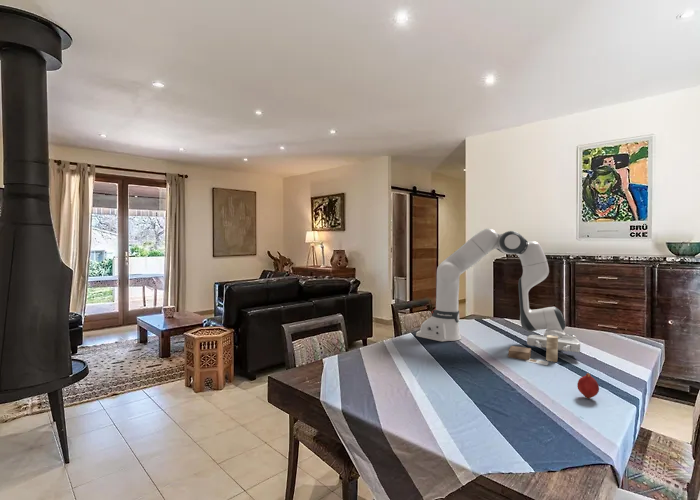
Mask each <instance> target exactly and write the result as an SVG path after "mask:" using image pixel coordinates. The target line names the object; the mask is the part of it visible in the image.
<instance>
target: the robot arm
mask: <svg viewBox="0 0 700 500" xmlns="http://www.w3.org/2000/svg"><path fill="white" fill-rule="evenodd" d="M493 250H497V251H499V252H501V253H503V254H506V255H516V256H518V258H519V260H520V262H521V263H520V264H521V266H522V275H521V277H520V278H519V279H518V297H519V299H518V300H519V301H518V302H519V314H520V315H519V323H520V326H521V328H522V329H523V330H525V331H527V332H529V333H530V332H536V331H540V330H545V331H544V333H543V335H540V334H530V335H528V336H526V343H527V344H526V345H528V346H531V347H537V348H539V349H540V348H541V349H542V348H546V345H547V335H552V336H558V351H563V352H573V353H580V352H581V342H580V340H579V339H577V336H576V335H573V334H569V333H566V332H565V329H566V327H567V326H566V319H565V316H564V314H563V312H562V311H561V310H560V309H559V308H558V307H556V306H548V307H543V308H537V309H531V308H530V301H529V300H530V299H529V292H530V290H531V289H533V287H535V286H537V285H538V284H540V283H541V282H544V281H545V280H546V279H547V277H548V276H549V273H550V267H549V264H548V259H547V256H546V254H545V251H544V249H543V247H542V245H541V244H540V242H537V241H536V240H529V241H528V240H527V239H526V238H525V237H524V236H523V235H522V234H520V233H519V232H518V231H515V230H509V231H506V232H503V233H498V232H497V231H496V230H494V229H493V228H489V227H487V228H484V229H483V230H481V231H479V232H478V233H477V232H476V233H475V235H473V236H472V237H471V238H470V239H469V240H467V241H466V242H465V243H464V244H463V245H461V246H460V247H459V248H458V249H456V250H455V251H454V252H453V253H451V254H450V255H449V256H447V257H446V258H445V259H444V260H443V261H441V262H440V263H439V265H438V266H437V269H436V292H435V293H436V296H435V297H436V298H435V301H436V303H435V308H434V309H433V310H431V316H430V317H428V318H427V319H425V321H423V322H422V324H420V330H418V331H416V333H415V336H416V337H419V338H423V339H428V340H431V341H432V340H433V341H438V342H450V341H451V342H454V341H460V340H461V339H462V336H461V332H460V326H459V322H460V310H459V299H460V298H459V296H460V295H459V293H460V276H461V275H462V274H464V273H465V272H466V271H468V270H469V269H470V268H472V267H474V266H475V264H477V263H478V262H479V261H481V260H482V259H484V257H486V256H487V255H488V254H489V253H490V252H491V251H493Z"/></svg>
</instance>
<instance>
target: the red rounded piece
mask: <svg viewBox="0 0 700 500" xmlns="http://www.w3.org/2000/svg"><path fill="white" fill-rule="evenodd" d="M591 375H592V374H590V373H586V374H585V375H584V376H581V377H580V378H579V379H578V381H577V385H576V386H577V390H578V391H579V392H580V393H581V394H582V395H583V397H584V398H586V399H591V398H594V397H596V396H597V395H598V394H599V392H600V386H599V383H598V382H597V380H596V378H594V377H593V376H591Z"/></svg>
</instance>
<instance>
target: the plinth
mask: <svg viewBox="0 0 700 500" xmlns="http://www.w3.org/2000/svg"><path fill="white" fill-rule="evenodd" d="M531 357H532V348H531V347H525V346H524V347H523V346H516V345H515V346H514V345H511V346H510V347H509V348H508V358H511V359H519V360H525V361H526V360H529V359H531Z"/></svg>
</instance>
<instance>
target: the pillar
mask: <svg viewBox="0 0 700 500" xmlns="http://www.w3.org/2000/svg"><path fill="white" fill-rule="evenodd" d="M545 351H546V352H545V361H546V360H547V361H548V362H552V361H553V362H554V363H558V358H559V357H558V353H559V350H558V336H552V335H547V345H546V350H545Z"/></svg>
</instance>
